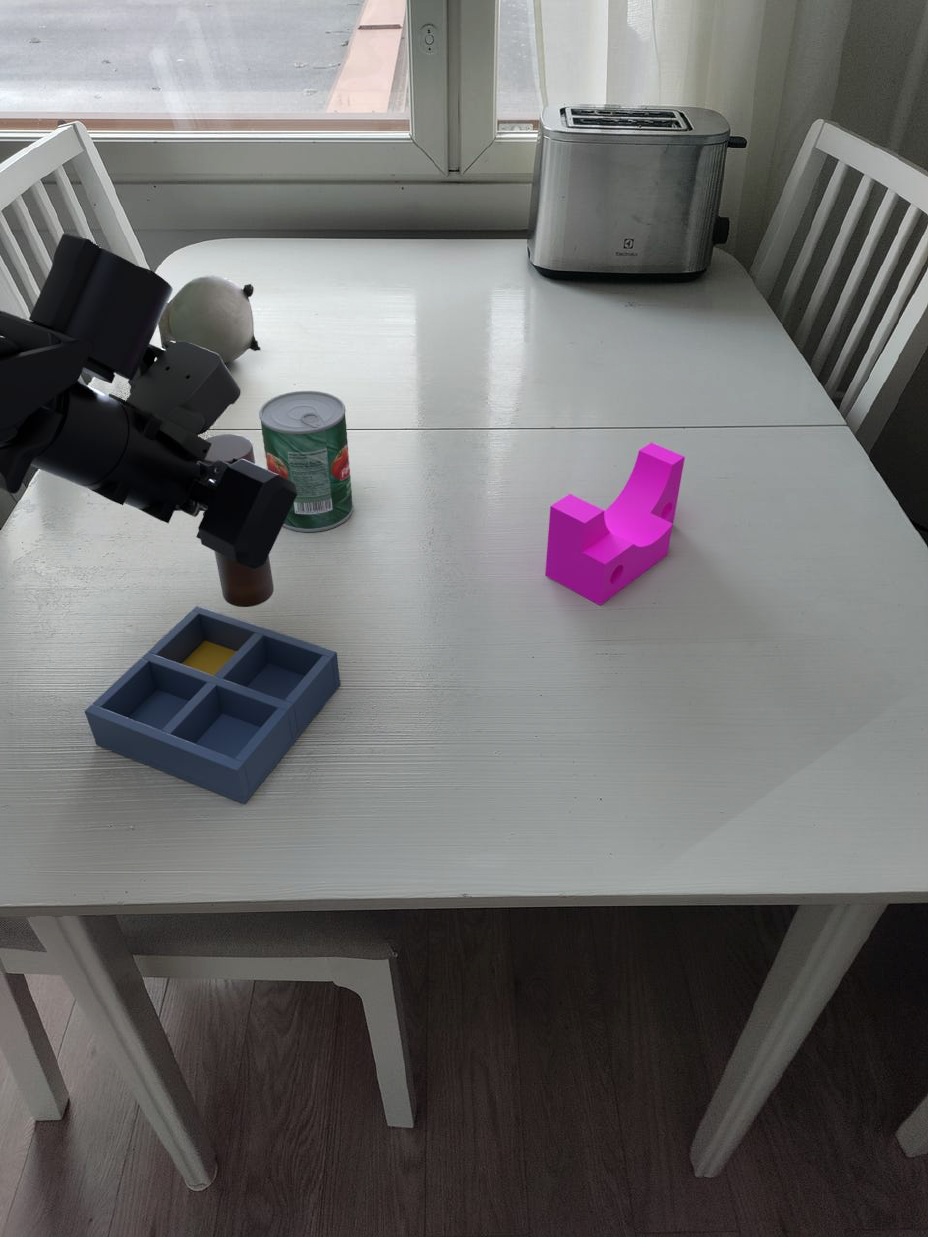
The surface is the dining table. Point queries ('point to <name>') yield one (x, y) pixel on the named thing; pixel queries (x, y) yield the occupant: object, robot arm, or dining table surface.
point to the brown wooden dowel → (235, 578)
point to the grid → (216, 702)
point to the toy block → (616, 529)
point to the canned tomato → (310, 456)
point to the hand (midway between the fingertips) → (249, 512)
